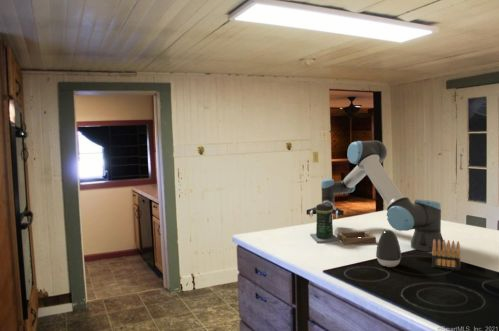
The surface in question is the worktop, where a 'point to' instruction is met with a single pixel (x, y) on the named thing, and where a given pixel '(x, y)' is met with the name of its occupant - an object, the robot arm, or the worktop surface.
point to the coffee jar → (324, 220)
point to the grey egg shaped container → (388, 249)
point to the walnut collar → (356, 237)
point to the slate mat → (325, 239)
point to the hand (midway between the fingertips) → (323, 215)
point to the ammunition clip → (446, 255)
